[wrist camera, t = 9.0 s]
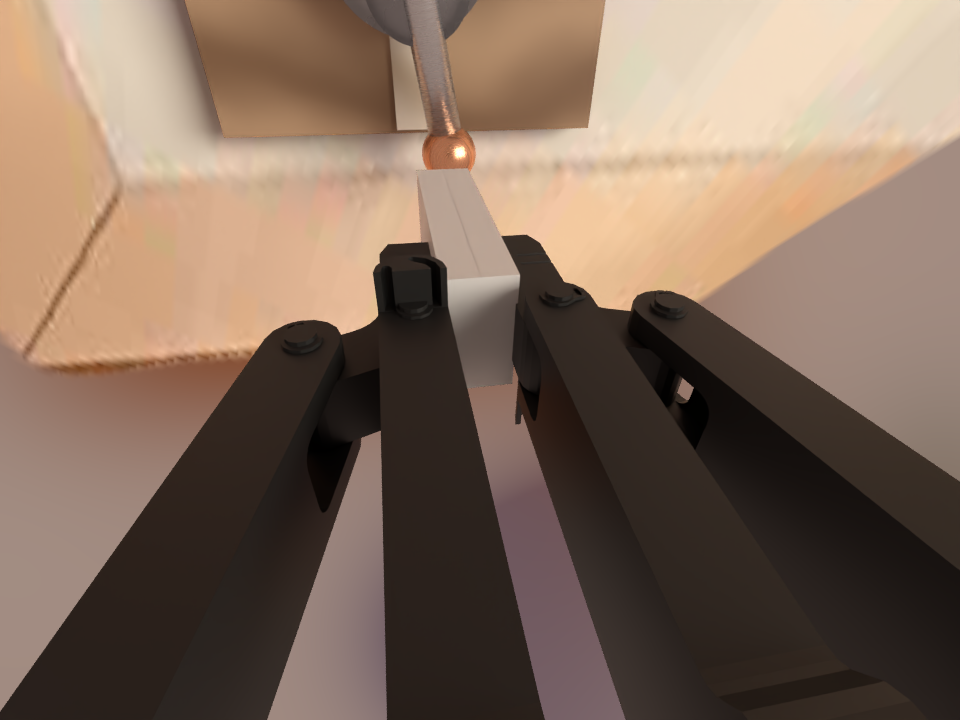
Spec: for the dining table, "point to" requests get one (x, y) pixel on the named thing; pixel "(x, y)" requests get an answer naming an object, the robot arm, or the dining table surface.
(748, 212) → the dining table surface
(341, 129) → the board
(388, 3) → the metal ball lever
